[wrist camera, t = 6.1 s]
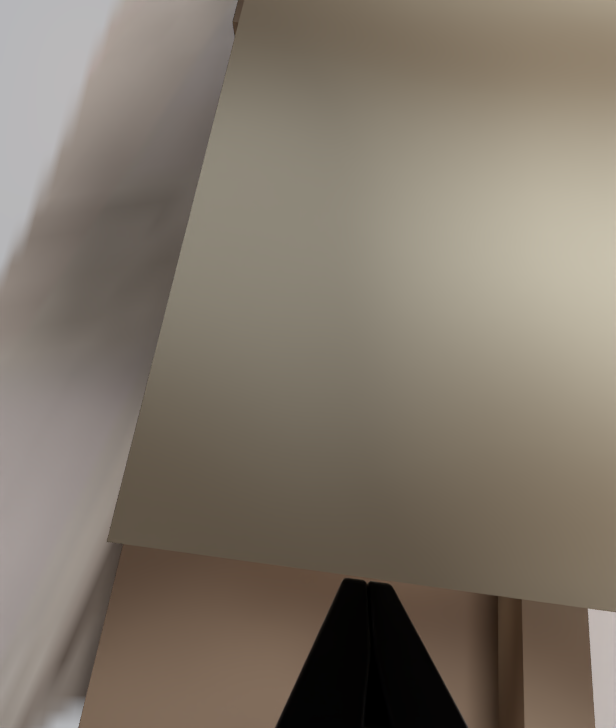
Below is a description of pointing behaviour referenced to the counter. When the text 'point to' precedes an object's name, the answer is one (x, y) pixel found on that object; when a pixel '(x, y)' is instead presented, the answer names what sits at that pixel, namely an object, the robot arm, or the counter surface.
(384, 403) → the tea box
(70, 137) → the counter surface
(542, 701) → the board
